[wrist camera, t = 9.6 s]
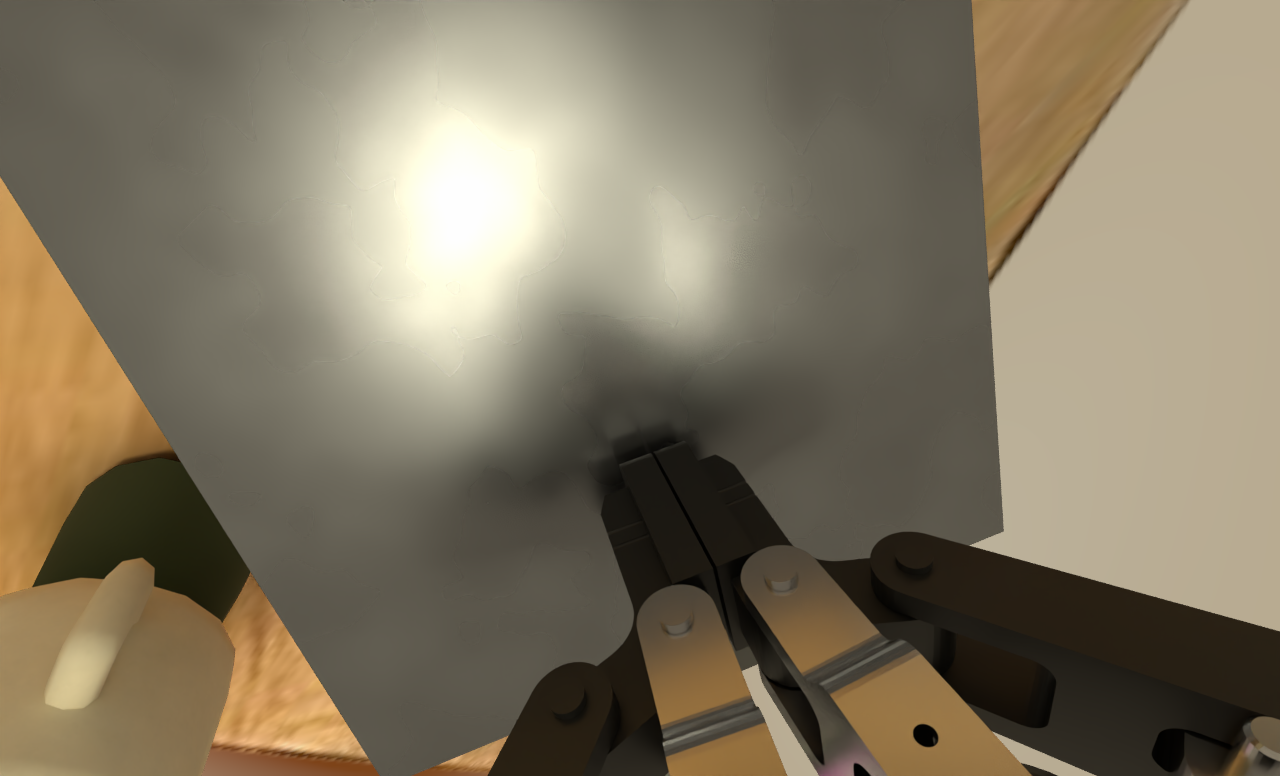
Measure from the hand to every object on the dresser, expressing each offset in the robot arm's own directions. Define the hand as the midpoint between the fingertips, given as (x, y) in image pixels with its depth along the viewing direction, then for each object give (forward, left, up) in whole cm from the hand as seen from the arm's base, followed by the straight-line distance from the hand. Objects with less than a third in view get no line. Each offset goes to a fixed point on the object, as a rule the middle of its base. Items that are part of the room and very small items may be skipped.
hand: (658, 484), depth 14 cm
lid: (-2, 0, -2) cm, 3 cm away
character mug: (+4, -17, -13) cm, 22 cm away
